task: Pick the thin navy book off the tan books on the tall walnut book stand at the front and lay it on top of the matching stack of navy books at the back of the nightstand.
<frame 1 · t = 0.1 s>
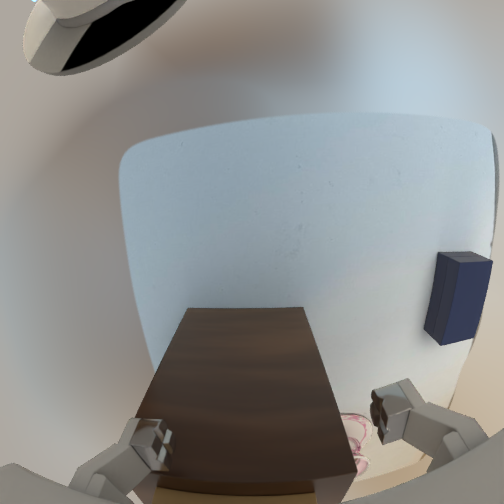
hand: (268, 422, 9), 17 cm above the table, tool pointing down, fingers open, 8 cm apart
book stand: (246, 367, 28), on the table
teacup: (330, 439, 31), on the table
navy books: (449, 290, 26), on the table
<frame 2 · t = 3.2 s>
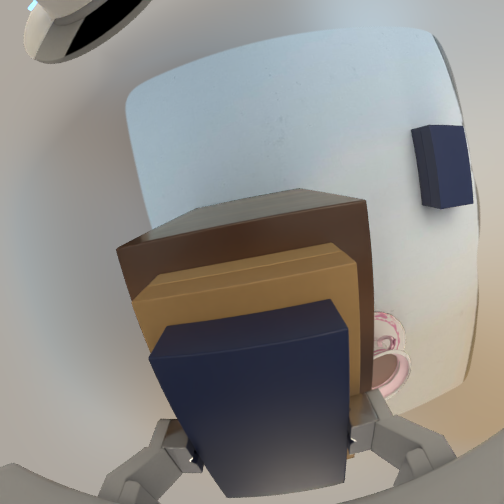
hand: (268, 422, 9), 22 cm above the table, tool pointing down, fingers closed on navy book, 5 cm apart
book stand: (260, 262, 30), on the table
teacup: (364, 350, 33), on the table
navy books: (434, 165, 27), on the table
tan books: (265, 366, 13), point 18 cm above the table, touching book stand, navy book
navy book: (268, 409, 10), point 21 cm above the table, touching gripper, tan books
when the fingers open (5 cm above the table, at t = 11.7 s): navy book stays where it is, resting on navy books.
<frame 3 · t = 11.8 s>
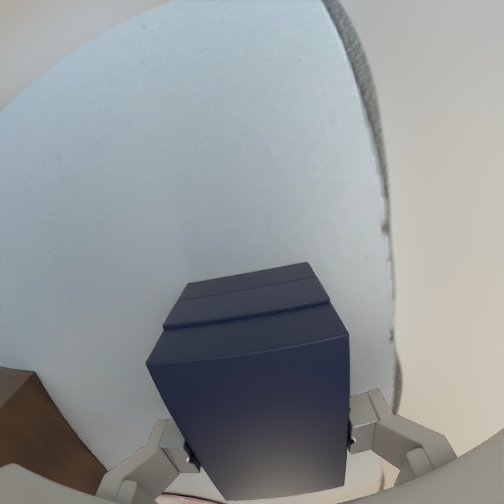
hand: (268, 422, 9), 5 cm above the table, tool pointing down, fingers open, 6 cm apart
book stand: (39, 425, 17), on the table
navy books: (264, 355, 14), on the table, touching navy book
navy book: (268, 413, 10), point 4 cm above the table, touching navy books
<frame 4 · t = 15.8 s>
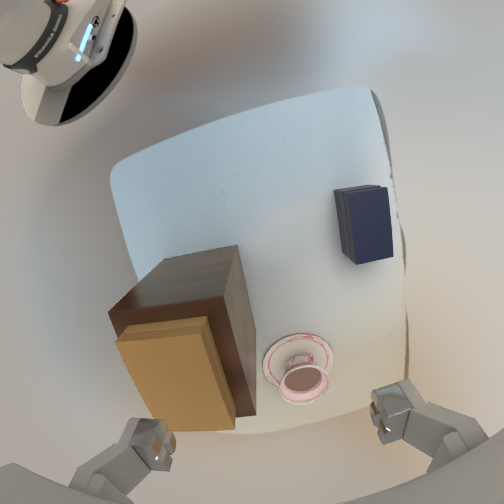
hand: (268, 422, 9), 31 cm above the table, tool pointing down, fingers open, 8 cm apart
book stand: (210, 296, 41), on the table
teacup: (298, 361, 44), on the table
navy books: (356, 218, 38), on the table, touching navy book
tan books: (184, 371, 24), point 18 cm above the table, touching book stand
navy book: (366, 223, 34), point 4 cm above the table, touching navy books
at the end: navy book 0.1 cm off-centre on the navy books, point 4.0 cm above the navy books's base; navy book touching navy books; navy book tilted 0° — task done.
